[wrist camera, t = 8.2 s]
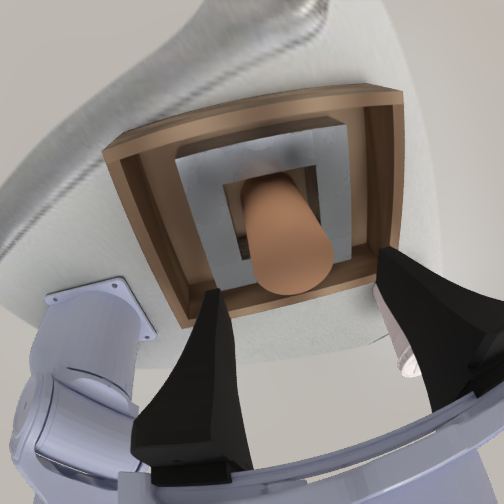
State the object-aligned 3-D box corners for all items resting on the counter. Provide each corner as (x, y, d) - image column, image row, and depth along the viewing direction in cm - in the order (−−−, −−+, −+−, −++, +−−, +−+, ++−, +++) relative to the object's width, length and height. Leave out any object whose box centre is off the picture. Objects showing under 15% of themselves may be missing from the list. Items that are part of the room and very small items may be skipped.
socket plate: (216, 267, 24) (218, 291, 22) (179, 146, 18) (174, 159, 16) (337, 238, 24) (351, 259, 22) (328, 115, 18) (346, 124, 16)
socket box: (183, 289, 26) (181, 328, 22) (122, 132, 17) (101, 151, 14) (370, 244, 26) (394, 275, 22) (367, 83, 17) (402, 91, 14)
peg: (248, 226, 22) (263, 303, 16) (233, 177, 20) (243, 241, 13) (300, 212, 22) (336, 282, 15) (290, 162, 20) (329, 217, 13)
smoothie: (349, 299, 29) (406, 419, 18) (389, 251, 26) (471, 368, 15) (386, 312, 32) (440, 414, 20) (422, 271, 29) (492, 370, 18)
